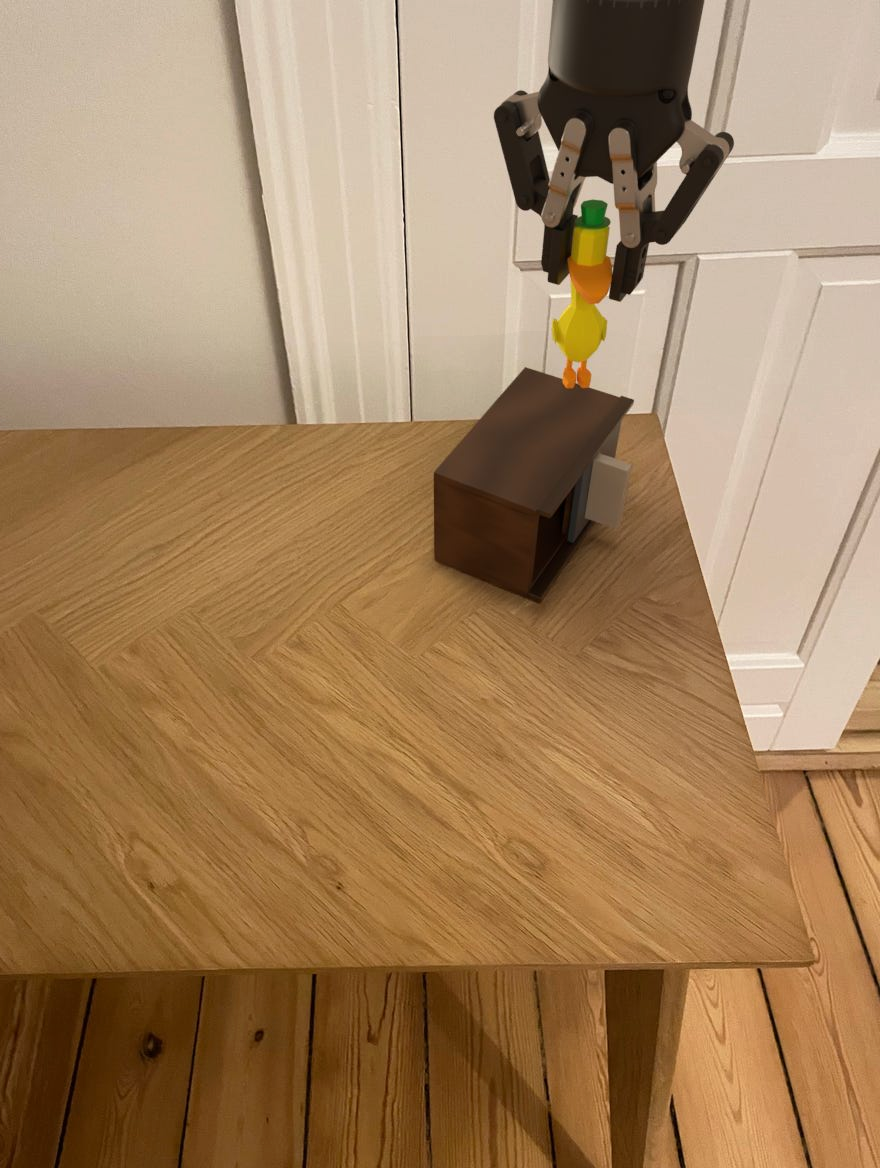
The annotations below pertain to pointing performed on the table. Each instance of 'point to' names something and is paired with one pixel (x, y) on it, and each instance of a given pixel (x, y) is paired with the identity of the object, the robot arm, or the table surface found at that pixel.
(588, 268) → the toy figure
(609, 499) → the door
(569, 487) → the cupboard
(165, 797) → the table surface
